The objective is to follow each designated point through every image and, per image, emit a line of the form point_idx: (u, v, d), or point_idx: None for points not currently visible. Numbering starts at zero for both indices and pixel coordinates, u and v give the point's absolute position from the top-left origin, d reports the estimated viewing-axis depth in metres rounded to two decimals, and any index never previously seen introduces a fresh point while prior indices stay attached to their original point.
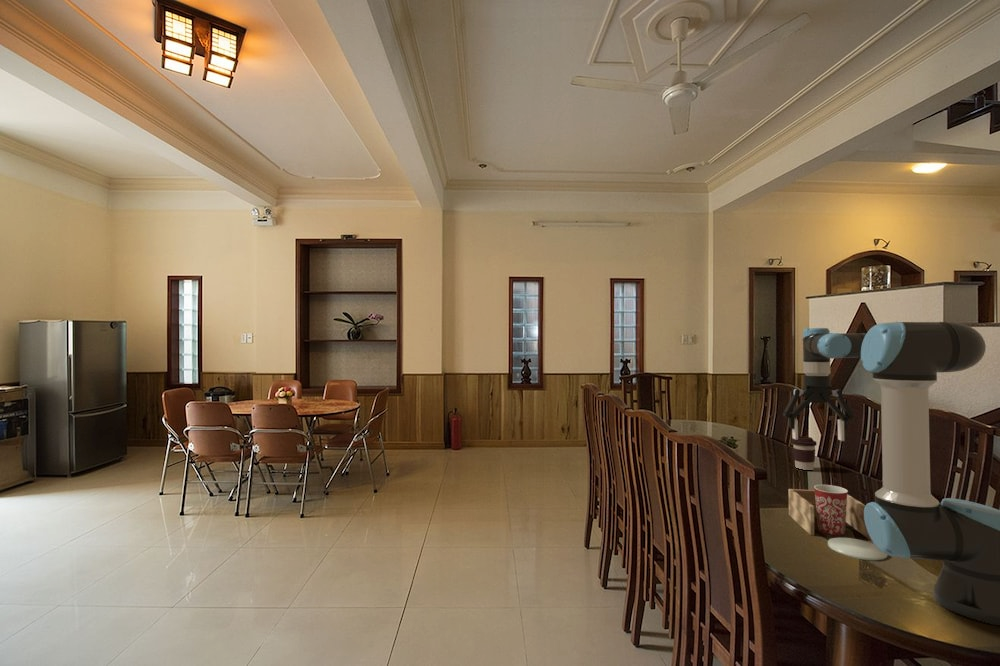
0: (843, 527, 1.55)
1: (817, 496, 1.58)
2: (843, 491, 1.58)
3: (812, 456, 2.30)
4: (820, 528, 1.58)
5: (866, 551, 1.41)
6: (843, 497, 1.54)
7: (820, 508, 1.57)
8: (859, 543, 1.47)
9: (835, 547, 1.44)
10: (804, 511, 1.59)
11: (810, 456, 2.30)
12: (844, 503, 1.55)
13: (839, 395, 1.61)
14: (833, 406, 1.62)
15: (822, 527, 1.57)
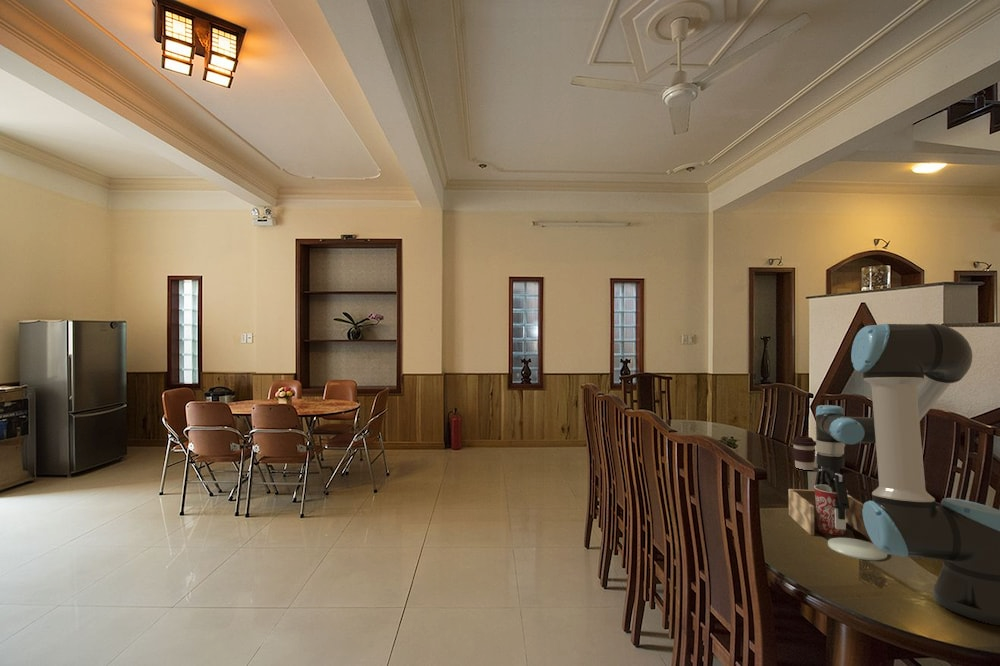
0: None
1: (817, 496, 1.58)
2: None
3: (812, 456, 2.30)
4: (820, 528, 1.58)
5: (866, 551, 1.41)
6: None
7: (820, 508, 1.57)
8: (859, 543, 1.47)
9: (835, 547, 1.44)
10: (804, 511, 1.59)
11: (810, 456, 2.30)
12: None
13: (835, 480, 1.54)
14: (832, 489, 1.56)
15: (822, 527, 1.57)
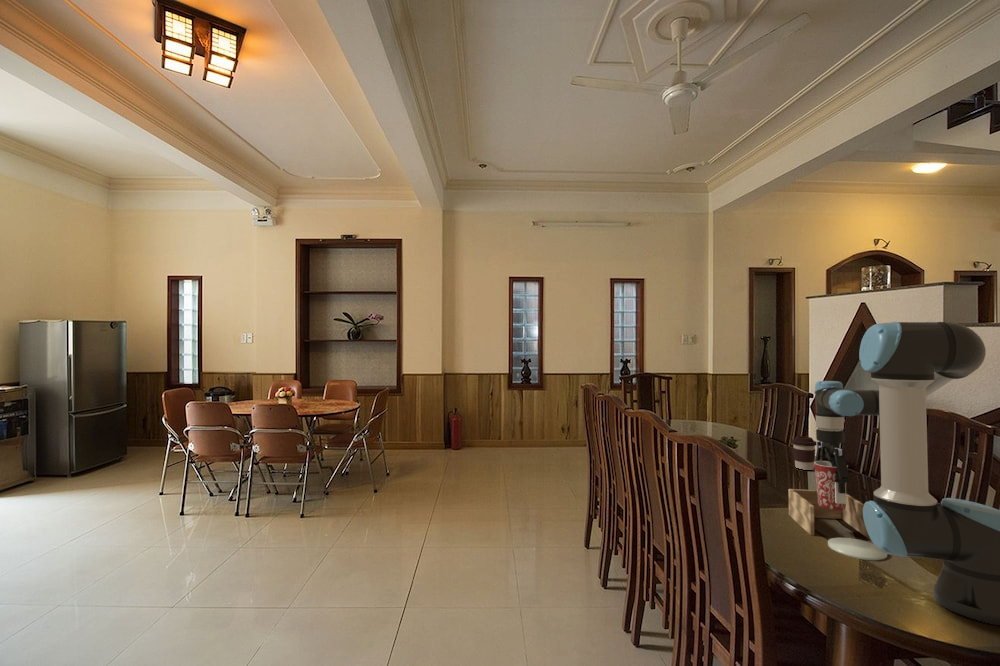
0: None
1: (817, 471, 1.58)
2: None
3: (812, 456, 2.30)
4: (820, 503, 1.57)
5: (866, 551, 1.41)
6: None
7: (820, 483, 1.57)
8: (859, 543, 1.47)
9: (835, 547, 1.44)
10: (804, 511, 1.59)
11: (810, 456, 2.30)
12: None
13: (834, 454, 1.54)
14: (832, 464, 1.56)
15: (822, 502, 1.57)
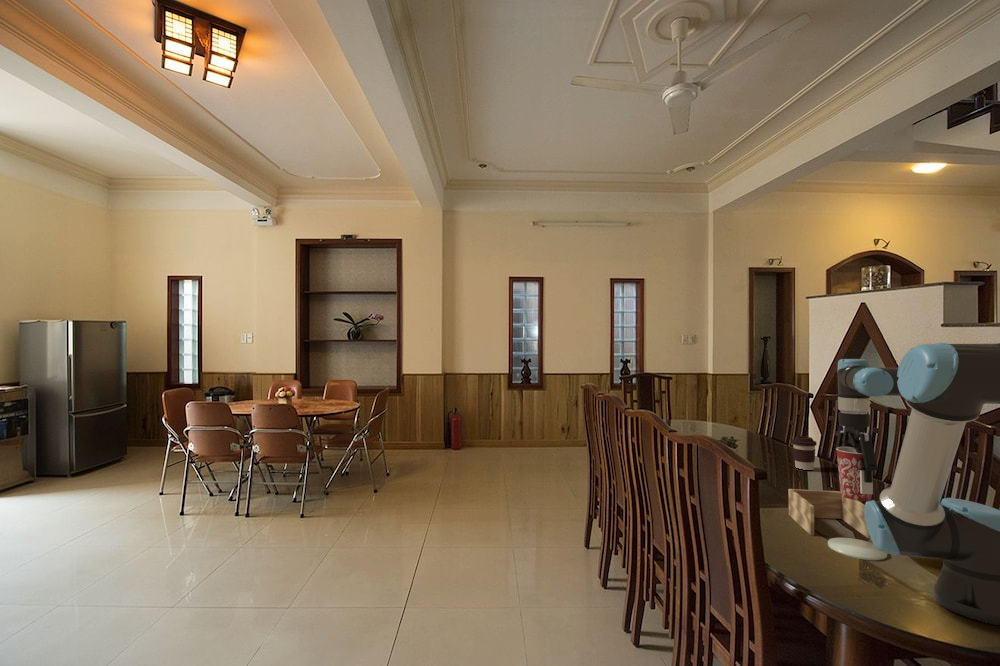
0: None
1: (840, 458, 1.43)
2: None
3: (812, 456, 2.30)
4: (843, 494, 1.42)
5: (866, 551, 1.41)
6: None
7: (843, 471, 1.42)
8: (859, 543, 1.47)
9: (835, 547, 1.44)
10: (804, 511, 1.59)
11: (810, 456, 2.30)
12: None
13: (860, 439, 1.39)
14: (856, 450, 1.41)
15: (846, 492, 1.41)
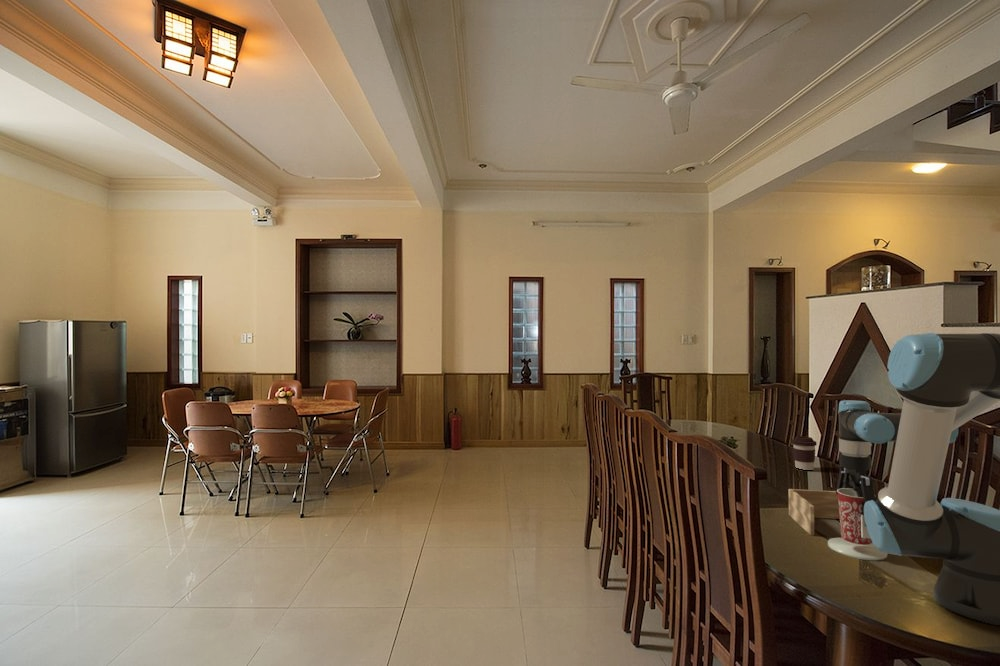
0: None
1: (841, 501, 1.42)
2: None
3: (812, 456, 2.30)
4: (844, 536, 1.42)
5: (866, 551, 1.41)
6: None
7: (844, 514, 1.42)
8: None
9: (835, 547, 1.44)
10: (804, 511, 1.59)
11: (810, 456, 2.30)
12: None
13: (861, 483, 1.39)
14: (857, 494, 1.41)
15: (847, 535, 1.41)
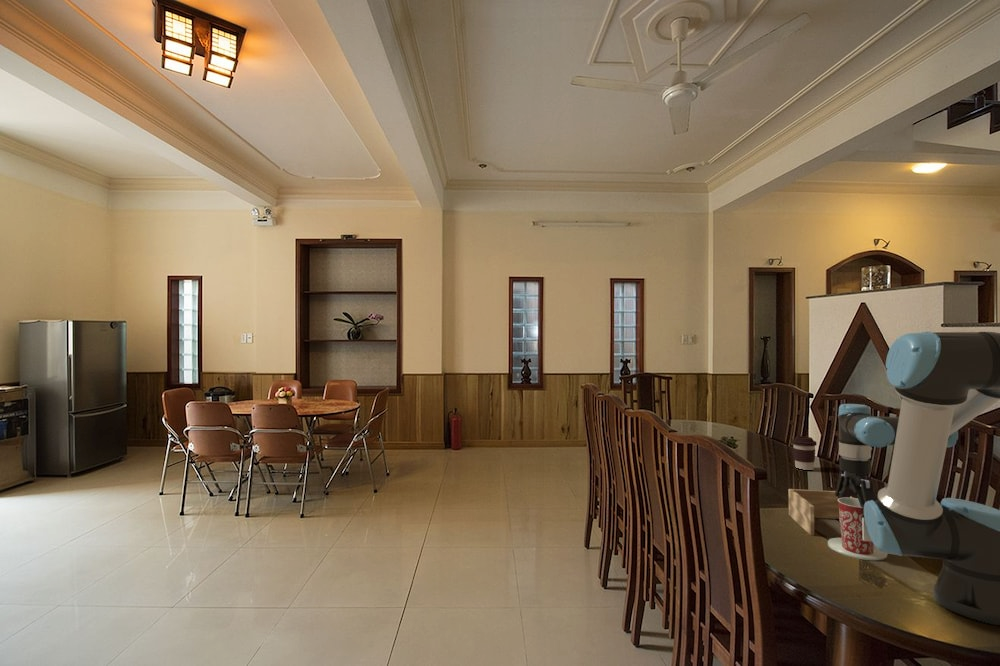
0: (871, 545, 1.39)
1: (841, 511, 1.42)
2: None
3: (812, 456, 2.30)
4: (845, 546, 1.42)
5: None
6: None
7: (845, 524, 1.41)
8: None
9: (835, 547, 1.44)
10: (804, 511, 1.59)
11: (810, 456, 2.30)
12: None
13: (861, 486, 1.38)
14: (858, 497, 1.40)
15: (847, 545, 1.41)
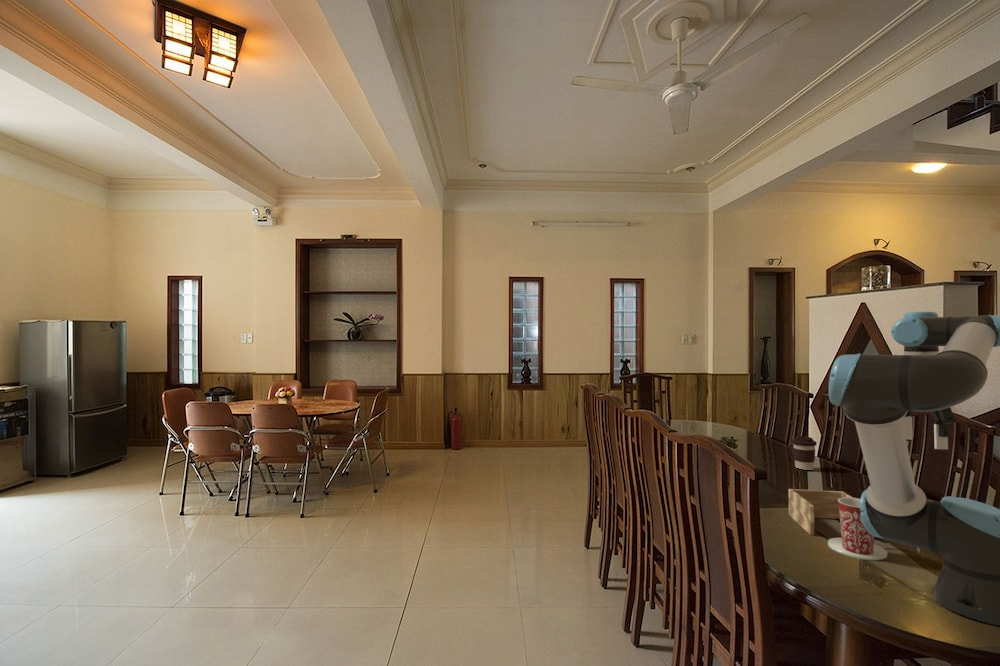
0: (871, 546, 1.39)
1: (842, 511, 1.42)
2: None
3: (812, 456, 2.30)
4: (845, 546, 1.42)
5: None
6: None
7: (845, 524, 1.41)
8: None
9: (835, 547, 1.44)
10: (804, 511, 1.59)
11: (810, 456, 2.30)
12: None
13: None
14: None
15: (847, 545, 1.41)
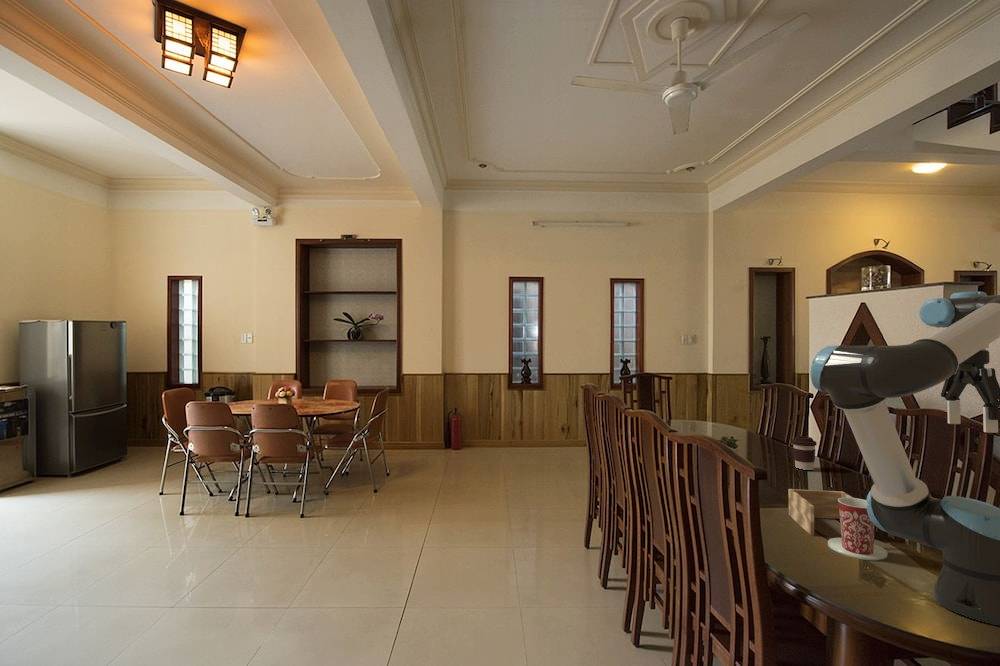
0: (871, 546, 1.39)
1: (842, 511, 1.42)
2: None
3: (812, 456, 2.30)
4: (845, 546, 1.42)
5: None
6: None
7: (845, 524, 1.41)
8: None
9: (835, 547, 1.44)
10: (804, 511, 1.59)
11: (810, 456, 2.30)
12: None
13: (982, 374, 1.29)
14: (977, 388, 1.31)
15: (847, 545, 1.41)
